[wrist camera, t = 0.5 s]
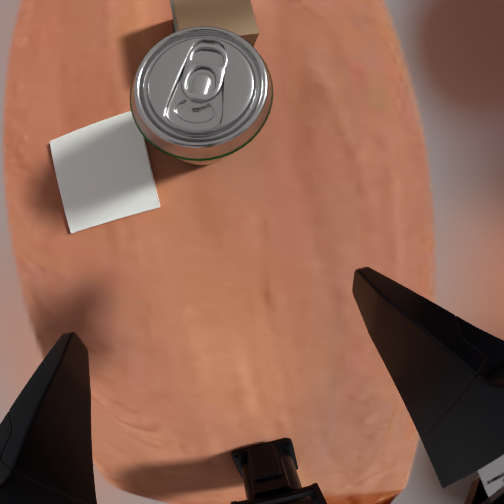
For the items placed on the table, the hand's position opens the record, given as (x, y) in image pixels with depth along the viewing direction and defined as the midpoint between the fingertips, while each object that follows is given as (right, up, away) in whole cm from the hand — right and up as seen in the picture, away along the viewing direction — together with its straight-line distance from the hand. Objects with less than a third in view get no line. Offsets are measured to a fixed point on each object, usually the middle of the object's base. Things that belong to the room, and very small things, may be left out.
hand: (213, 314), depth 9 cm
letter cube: (-2, +17, +9) cm, 20 cm away
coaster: (-9, +7, +11) cm, 16 cm away
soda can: (-2, +10, +11) cm, 15 cm away
